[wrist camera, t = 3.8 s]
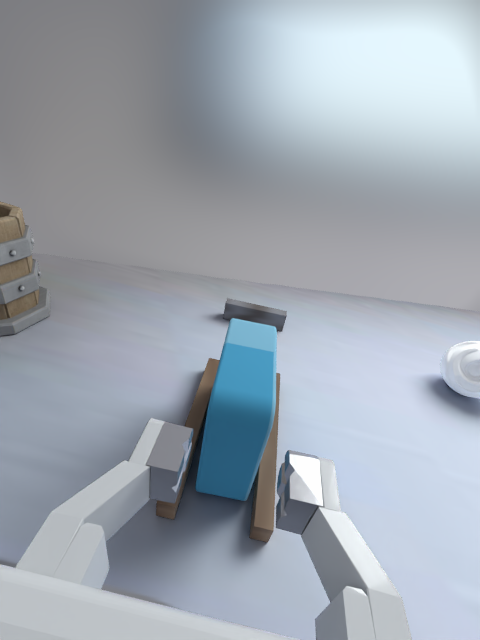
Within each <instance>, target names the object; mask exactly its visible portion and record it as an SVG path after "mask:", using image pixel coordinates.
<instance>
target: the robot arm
mask: <svg viewBox="0 0 480 640" xmlns="http://www.w3.org/2000/svg"><path fill="white" fill-rule="evenodd" d="M193 430H194V429H193V428H189V427H185V426H181V425H177V424H173V423H169V422H165V421H161V420H157V419H152V418H151V419H150V420H149V421H148V423H147V425H146V427H145V429H144V431H143V433H142V435H141V437H140V439H139V441H138V443H137V445H136V447H135V449H134V451H133V453H132V455H131V457H130V459H129V461H125V460H124V461H122V462H121V463H119V464H118V465H117V466H115V467H114V468H112V469H111V470H109V471H108V472H107V473H105V474H104V475H102V476H101V477H100V478H98V479H97V480H95V481H94V482H92V483H91V484H90V485H88V486H87V487H85V488H84V489H83V490H81V491H80V492H78V493H77V494H75V495H74V496H73V497H71V498H70V499H68V500H67V501H66V502H64V503H63V504H61V505H60V506H58V507H57V508H56V509H54V510H53V511H51V513H50V514H49V516H48V517H47V519H46V520H45V522H44V524H43V525H42V527H41V528H40V530H39V531H38V533H37V534H36V536H35V538H34V539H33V541H32V542H31V544H30V545H29V547H28V548H27V550H26V552H25V553H24V555H23V556H22V558H21V559H20V561H19V562H18V564H17V566H16V567H15V568H13V567H9V566H5V565H1V564H0V640H300V639H296V638H292V637H288V636H284V635H280V634H276V633H272V632H268V631H264V630H260V629H256V628H252V627H248V626H244V625H240V624H236V623H232V622H228V621H224V620H220V619H216V618H212V617H208V616H204V615H200V614H196V613H192V612H188V611H184V610H180V609H176V608H172V607H168V606H164V605H161V604H156V603H153V602H149V601H145V600H140V599H137V598H133V597H128V596H124V595H120V594H116V593H113V592H108V591H105V590H101V589H102V586H103V584H104V581H105V579H106V576H107V574H108V571H109V569H110V568H109V561H108V555H107V548H106V542H107V541H108V540H109V539H110V538H111V537H112V536H113V535H114V534H115V533H116V532H117V531H118V530H119V529H120V528H121V527H122V526H123V525H124V524H125V523H126V522H127V521H128V520H129V519H131V518H132V517H133V516H134V515H135V514H136V513H137V512H138V511H139V510H140V509H141V508H142V507H143V506H144V505H145V504H146V503H147V502H148V501H149V498H150V499H155V500H160V501H164V502H169V503H174V504H175V502H176V499H177V496H178V492H179V489H180V486H181V482H182V474H183V472H184V471H185V470H186V467H187V464H188V460H189V456H190V452H191V447H192V442H191V440H192V437H193ZM277 493H278V495H279V497H280V499H279V501H278V504H277V506H276V528H278V529H282V530H286V531H289V532H293V533H297V534H300V535H302V536H301V537H302V539H303V542H304V544H305V546H306V548H307V551H308V553H309V555H310V557H311V560H312V562H313V564H314V566H315V569H316V571H317V573H318V575H319V578H320V580H321V582H322V584H323V587H324V589H325V591H326V593H327V596H328V598H329V600H330V602H331V603H330V604H329V605H328V606H327V607H326V608H325V609H324V610H323V611H322V613H321V614H320V615H319V616H318V617H317V618H316V619H315V626H316V640H412V638H411V633H410V629H409V625H408V621H407V617H406V613H405V609H404V604H403V600H402V597H401V596H400V594H399V593H398V591H397V590H396V588H395V587H394V585H393V584H392V582H391V581H390V579H389V578H388V576H387V575H386V573H385V572H384V570H383V569H382V567H381V566H380V564H379V562H378V561H377V559H376V558H375V556H374V555H373V553H372V552H371V550H370V549H369V547H368V546H367V544H366V543H365V541H364V540H363V538H362V537H361V535H360V534H359V532H358V531H357V529H356V528H355V526H354V525H353V523H352V522H351V520H350V518H349V517H348V515H347V514H346V513H345V512H341V507H340V500H339V493H338V486H337V479H336V472H335V465H334V462H333V460H330V459H325V458H321V457H317V456H314V455H309V454H305V453H300V452H295V451H291V450H288V451H287V453H286V455H285V463H283V464H282V465H281V468H280V471H279V475H278V483H277Z"/></svg>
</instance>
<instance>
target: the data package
mask: <svg viewBox="0 0 480 640" xmlns="http://www.w3.org/2000/svg"><path fill="white" fill-rule="evenodd" d="M276 343H277V330H276V327H274V326H270V325H265V324H260V323H255V322H250V321H245V320H240V319H235V318H232V319H231V320H230V323H229V327H228V330H227V334H226V338H225V342H224V346H223V350H222V354H221V357H220V361H219V365H218V369H217V373H216V377H215V381H214V385H213V388H212V393H211V397H210V401H209V406H208V411H207V417H206V423H205V429H204V436H203V442H202V448H201V455H200V461H199V467H198V473H197V480H196V486H195V489H196V491H197V492H202V493H207V494H212V495H217V496H222V497H227V498H232V499H237V500H242V501H246V500H247V498H248V496H249V493H250V490H251V487H252V484H253V481H254V479H255V476H256V473H257V470H258V467H259V464H260V461H261V458H262V455H263V452H264V449H265V446H266V444H267V441H268V438H269V435H270V432H271V429H272V425H273V421H274V415H275V407H276Z"/></svg>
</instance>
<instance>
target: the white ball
mask: <svg viewBox="0 0 480 640" xmlns="http://www.w3.org/2000/svg"><path fill="white" fill-rule="evenodd" d="M440 371H441V374H442V377H443V379H444V381H445V382H446V383H447V385H448V386H449V387H450V388H452V389H453V390H454V391H456V392H457V393H459V394H461V395H464V396H467V397H472V398H480V342H479V341H467V342H462V343H459V344H456V345H454V346H452V347H451V348H449V349H448V350H447V351H446V352H445V353H444V355H443V357H442V359H441V362H440Z"/></svg>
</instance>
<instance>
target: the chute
mask: <svg viewBox="0 0 480 640" xmlns="http://www.w3.org/2000/svg"><path fill="white" fill-rule="evenodd" d="M286 312H287V311H283V310H279V309H274V308H269V307H265V306H260V305H256V304H251V303H246V302H242V301H237V300H232V299H228V298H227V301H226V304H225V311H224V317H223V318H224V319H228V320H231V319H232V318H235V319H240V320H245V321H250V322H255V323H260V324H265V325H270V326H274V327H276V330H279V331H282V329H283V326H284V323H285V319H286ZM219 361H220V360H216V359H211V358H209V360H208V363H207V366H206V368H205V371H204V374H203V377H202V379H201V382H200V385H199V388H198V390H197V393H196V396H195V399H194V401H193V404H192V407H191V410H190V412H189V415H188V418H187V420H186V423H185V427H189V428H193V429H194V430H193V437H192V440H191V442H192V447H191V452H190V456H189V460H188V464H187V467H186V470H185V471H184V472H183V474H182V482H181V486H180V489H179V492H178V496H177V499H176V502H175V504H174V503H169V502H164V501H160V500H157V503H156V515H157V516H161V517H165V518H169V519H173V520H174V518H175V515H176V512H177V509H178V505H179V502H180V499H181V495H182V492H183V489H184V485H185V482H186V479H187V475H188V472H189V469H190V466H191V462H192V459H193V456H194V452H195V449H196V446H197V442H198V439H199V436H200V433H201V429H202V426H203V423H204V419H205V416H206V413H207V409H208V406H209V401H210V397H211V393H212V388H213V385H214V381H215V377H216V373H217V369H218V365H219ZM279 389H280V374H279V373H276V407H275V415H274V421H273V425H272V429H271V432H270V435H269V438H268V441H267V444H266V446H265V449H264V452H263V455H262V458H261V461H260V464H259V467H258V470H257V473H256V478H255V488H254V497H253V507H252V517H251V527H250V536H249V538H252V539H256V540H260V541H264V542H268V541H269V539H270V537H271V535H272V533H273V527H274V504H275V481H276V458H277V435H278V412H279Z"/></svg>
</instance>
